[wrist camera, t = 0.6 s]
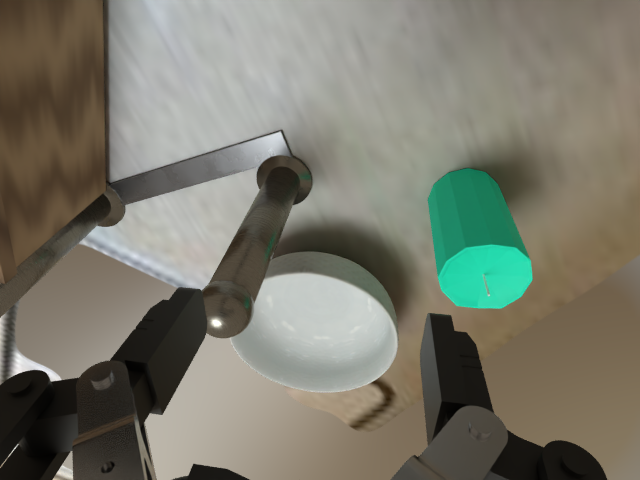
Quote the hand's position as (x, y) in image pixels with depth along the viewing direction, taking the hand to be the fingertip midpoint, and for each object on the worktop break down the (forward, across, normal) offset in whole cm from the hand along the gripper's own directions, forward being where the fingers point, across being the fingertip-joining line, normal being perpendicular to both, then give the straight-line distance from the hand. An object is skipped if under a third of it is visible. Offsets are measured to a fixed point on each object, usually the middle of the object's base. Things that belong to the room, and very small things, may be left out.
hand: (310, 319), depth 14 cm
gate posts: (+23, +16, +5) cm, 29 cm away
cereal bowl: (+24, +3, +18) cm, 30 cm away
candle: (+23, -10, +5) cm, 26 cm away
